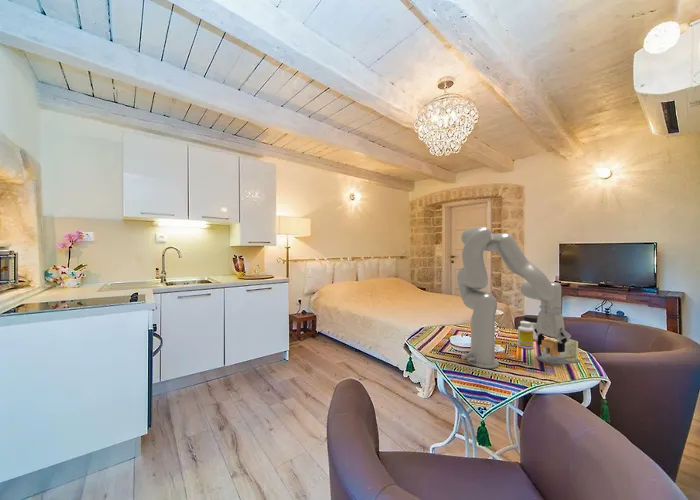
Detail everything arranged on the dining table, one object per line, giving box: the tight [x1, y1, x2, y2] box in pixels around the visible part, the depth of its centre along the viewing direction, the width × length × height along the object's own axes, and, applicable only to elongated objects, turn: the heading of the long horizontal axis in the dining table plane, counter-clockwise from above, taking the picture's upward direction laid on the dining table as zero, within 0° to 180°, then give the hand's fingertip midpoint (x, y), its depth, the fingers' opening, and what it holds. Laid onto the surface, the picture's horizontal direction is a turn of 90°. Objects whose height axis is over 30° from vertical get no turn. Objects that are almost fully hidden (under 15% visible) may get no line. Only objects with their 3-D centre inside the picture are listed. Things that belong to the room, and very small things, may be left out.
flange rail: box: [535, 336, 581, 367], centre depth 128 cm, size 16×8×9 cm, turn 105°
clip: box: [541, 338, 560, 356], centre depth 127 cm, size 4×5×6 cm
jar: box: [522, 314, 538, 341], centre depth 162 cm, size 9×8×12 cm
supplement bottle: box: [517, 320, 534, 350], centre depth 146 cm, size 7×7×13 cm
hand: (550, 348), depth 127 cm, fingers open, 9 cm apart
